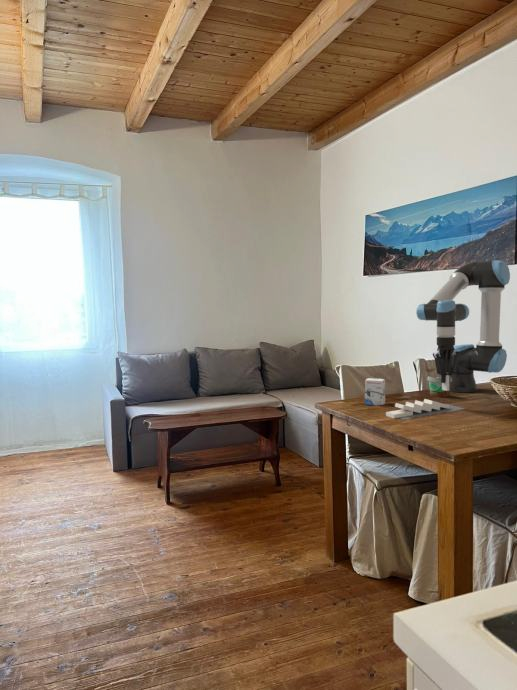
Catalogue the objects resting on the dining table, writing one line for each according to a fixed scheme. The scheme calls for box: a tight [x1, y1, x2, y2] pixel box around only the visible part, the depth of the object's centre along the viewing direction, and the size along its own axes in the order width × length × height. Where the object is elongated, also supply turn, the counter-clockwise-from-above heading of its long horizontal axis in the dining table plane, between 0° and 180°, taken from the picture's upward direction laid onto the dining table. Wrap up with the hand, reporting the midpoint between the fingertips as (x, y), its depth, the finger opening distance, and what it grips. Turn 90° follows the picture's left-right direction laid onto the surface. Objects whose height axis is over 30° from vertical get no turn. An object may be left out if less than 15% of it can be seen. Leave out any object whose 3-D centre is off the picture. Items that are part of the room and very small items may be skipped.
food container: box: [426, 374, 452, 398], centre depth 252 cm, size 12×6×10 cm, turn 42°
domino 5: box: [423, 398, 450, 409], centre depth 226 cm, size 2×5×10 cm
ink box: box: [364, 377, 386, 406], centre depth 242 cm, size 9×5×12 cm, turn 65°
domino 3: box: [405, 401, 432, 412], centre depth 222 cm, size 2×5×10 cm
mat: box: [384, 403, 466, 421], centre depth 224 cm, size 34×12×1 cm, turn 115°
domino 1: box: [385, 408, 413, 419], centre depth 218 cm, size 2×5×10 cm
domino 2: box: [394, 402, 421, 413], centre depth 220 cm, size 2×5×10 cm
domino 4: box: [413, 399, 440, 410], centre depth 224 cm, size 2×5×10 cm
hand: (445, 390), depth 228 cm, fingers closed
